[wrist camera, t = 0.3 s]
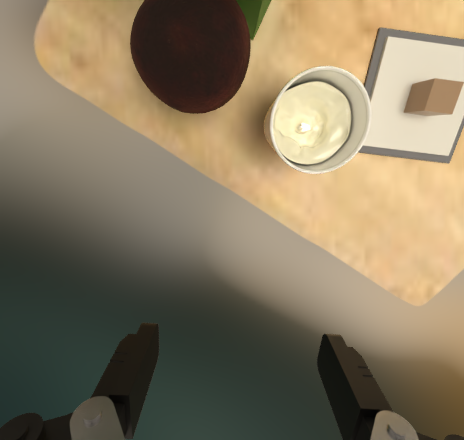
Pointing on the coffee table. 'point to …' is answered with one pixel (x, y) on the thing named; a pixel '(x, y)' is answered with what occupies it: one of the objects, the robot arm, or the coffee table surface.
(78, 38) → the coffee table surface
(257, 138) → the coffee table surface
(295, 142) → the candle holder
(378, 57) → the rubber mat
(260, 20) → the hardback book
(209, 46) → the decorative mushroom
